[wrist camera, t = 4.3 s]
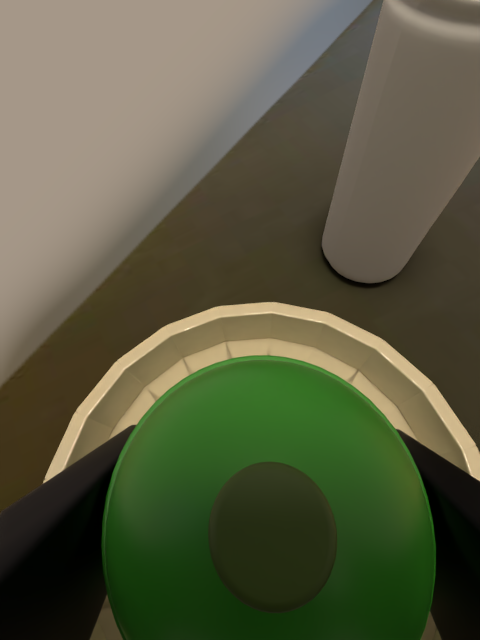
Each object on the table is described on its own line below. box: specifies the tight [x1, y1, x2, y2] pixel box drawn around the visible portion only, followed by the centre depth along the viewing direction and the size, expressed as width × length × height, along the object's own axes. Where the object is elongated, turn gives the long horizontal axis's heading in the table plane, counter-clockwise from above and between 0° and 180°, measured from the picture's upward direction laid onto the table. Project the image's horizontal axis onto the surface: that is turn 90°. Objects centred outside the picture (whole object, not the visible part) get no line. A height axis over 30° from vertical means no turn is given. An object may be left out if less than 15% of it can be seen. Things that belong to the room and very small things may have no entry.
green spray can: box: [101, 355, 436, 640], centre depth 8 cm, size 6×6×12 cm
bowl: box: [43, 302, 480, 640], centre depth 12 cm, size 13×13×5 cm
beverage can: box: [322, 0, 480, 283], centre depth 14 cm, size 5×5×12 cm
